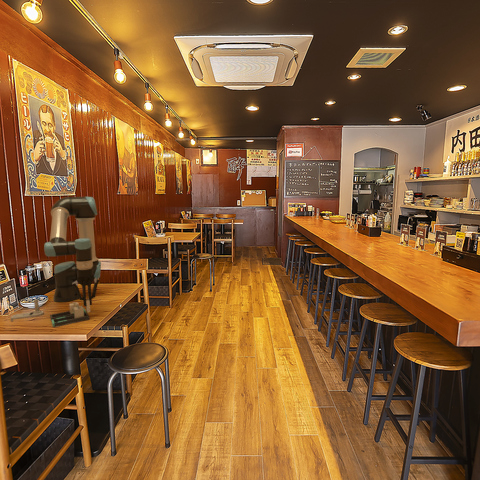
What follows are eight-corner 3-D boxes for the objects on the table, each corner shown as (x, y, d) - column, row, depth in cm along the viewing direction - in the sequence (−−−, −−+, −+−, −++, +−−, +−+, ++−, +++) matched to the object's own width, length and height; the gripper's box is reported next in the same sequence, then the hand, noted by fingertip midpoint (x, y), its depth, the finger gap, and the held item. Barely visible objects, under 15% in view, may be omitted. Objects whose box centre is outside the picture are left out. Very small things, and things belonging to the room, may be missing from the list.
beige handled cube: (74, 318, 161) (73, 306, 160) (82, 316, 163) (81, 304, 162) (75, 320, 157) (74, 308, 156) (84, 319, 160) (83, 306, 159)
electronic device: (10, 302, 163) (42, 297, 168) (13, 319, 164) (45, 314, 169) (6, 305, 158) (40, 301, 163) (9, 323, 159) (42, 318, 164)
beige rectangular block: (70, 314, 166) (69, 302, 165) (78, 312, 169) (77, 300, 168) (71, 316, 163) (70, 304, 162) (79, 314, 166) (78, 302, 165)
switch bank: (50, 319, 163) (49, 313, 163) (84, 312, 173) (83, 307, 172) (53, 330, 150) (52, 324, 149) (90, 321, 159) (89, 316, 159)
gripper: (72, 271, 152) (75, 316, 156) (100, 267, 160) (103, 310, 163) (69, 268, 158) (73, 312, 162) (96, 265, 166) (99, 306, 169)
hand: (88, 311), depth 162 cm, fingers closed
